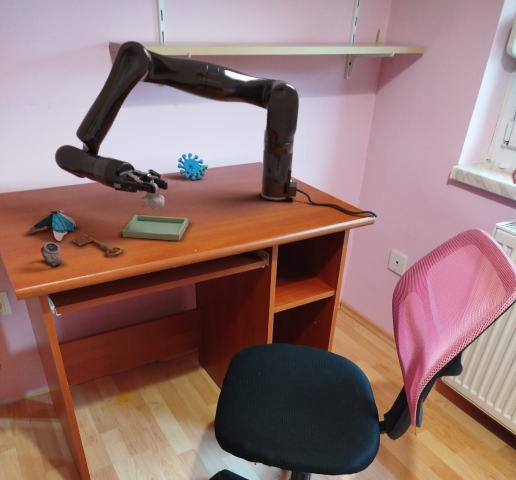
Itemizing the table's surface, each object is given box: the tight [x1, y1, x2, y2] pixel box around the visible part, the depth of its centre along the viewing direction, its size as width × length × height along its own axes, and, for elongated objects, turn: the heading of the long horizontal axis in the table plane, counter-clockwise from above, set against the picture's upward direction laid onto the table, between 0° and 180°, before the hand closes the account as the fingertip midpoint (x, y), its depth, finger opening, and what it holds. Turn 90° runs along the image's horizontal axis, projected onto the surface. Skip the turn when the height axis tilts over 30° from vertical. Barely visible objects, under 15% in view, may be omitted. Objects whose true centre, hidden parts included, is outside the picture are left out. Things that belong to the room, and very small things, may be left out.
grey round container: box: [40, 241, 62, 267], centre depth 111 cm, size 4×6×5 cm, turn 49°
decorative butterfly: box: [26, 210, 77, 242], centre depth 126 cm, size 10×6×10 cm
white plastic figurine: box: [140, 180, 165, 211], centre depth 125 cm, size 5×7×8 cm
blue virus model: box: [177, 152, 209, 181], centre depth 170 cm, size 11×6×10 cm
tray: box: [121, 214, 190, 242], centre depth 130 cm, size 15×12×2 cm
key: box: [72, 233, 123, 256], centre depth 120 cm, size 6×1×15 cm
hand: (160, 187), depth 122 cm, fingers closed on white plastic figurine, 3 cm apart
